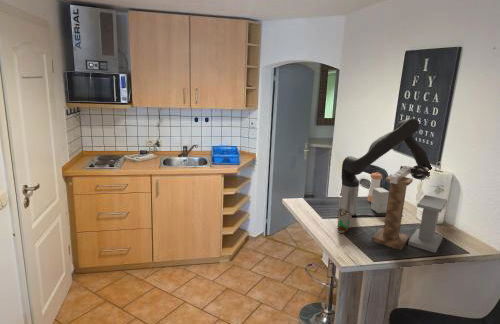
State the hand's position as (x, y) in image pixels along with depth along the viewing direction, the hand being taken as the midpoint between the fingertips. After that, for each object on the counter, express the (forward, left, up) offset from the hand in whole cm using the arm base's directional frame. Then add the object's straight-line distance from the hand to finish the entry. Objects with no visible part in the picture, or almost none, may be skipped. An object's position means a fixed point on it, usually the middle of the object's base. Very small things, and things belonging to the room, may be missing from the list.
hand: (410, 169), depth 181 cm
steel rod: (+1, -21, +1) cm, 21 cm away
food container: (-21, -28, -31) cm, 47 cm away
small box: (-16, +12, -31) cm, 37 cm away
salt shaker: (-24, +26, -31) cm, 48 cm away
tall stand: (+1, -23, -31) cm, 39 cm away
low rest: (+15, -13, -31) cm, 37 cm away
